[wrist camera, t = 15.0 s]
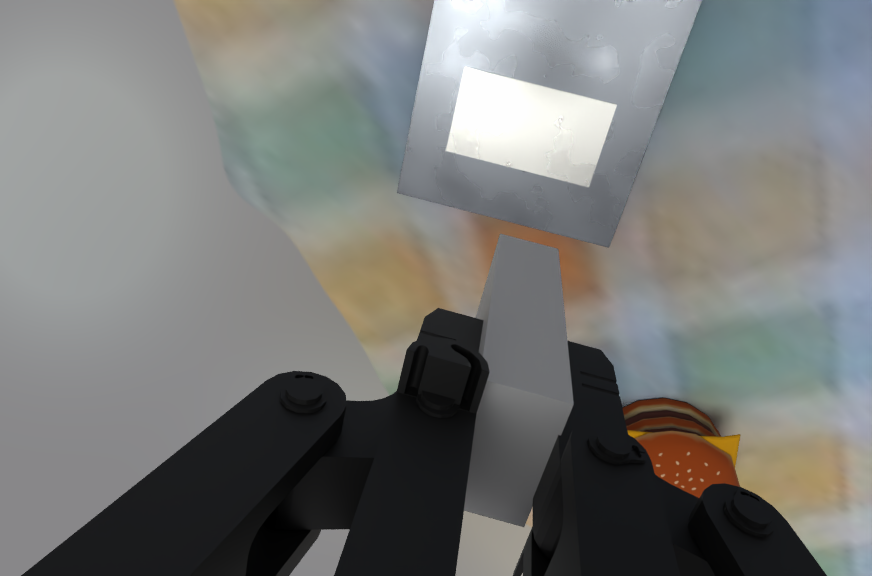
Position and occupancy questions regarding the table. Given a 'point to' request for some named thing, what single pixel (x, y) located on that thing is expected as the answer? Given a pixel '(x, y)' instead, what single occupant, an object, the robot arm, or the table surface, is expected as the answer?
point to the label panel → (541, 107)
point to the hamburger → (683, 444)
